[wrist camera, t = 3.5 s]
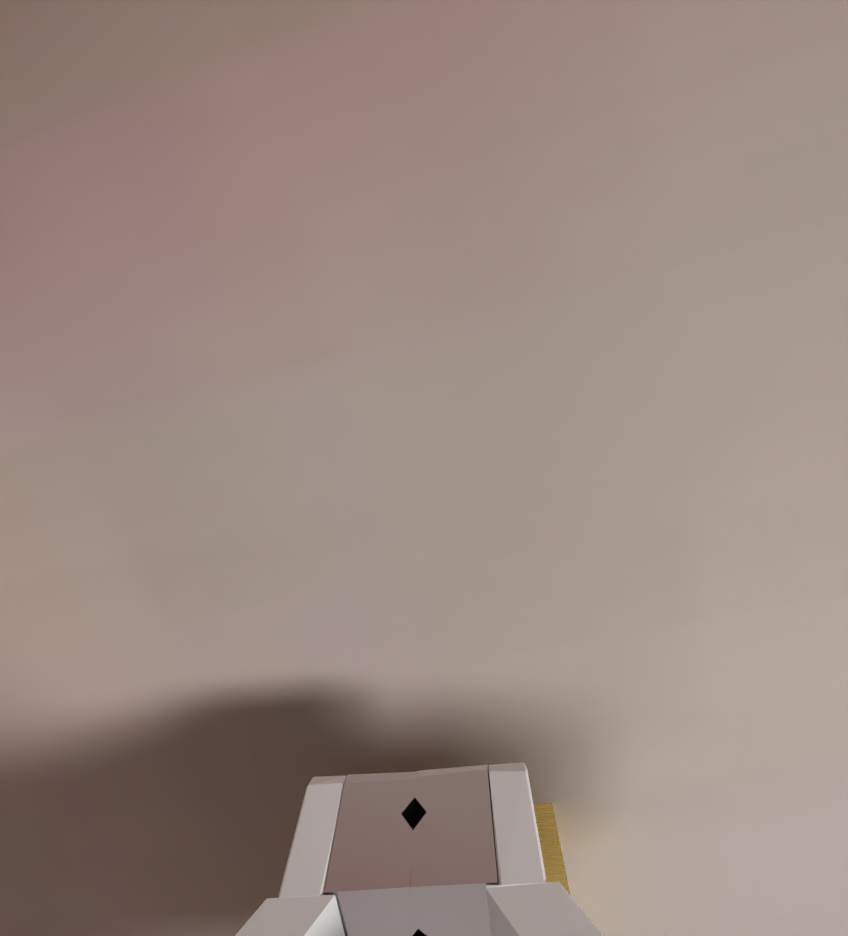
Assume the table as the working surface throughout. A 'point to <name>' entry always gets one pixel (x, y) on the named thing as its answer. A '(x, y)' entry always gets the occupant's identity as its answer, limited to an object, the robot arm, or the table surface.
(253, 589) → the table surface
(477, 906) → the robot arm
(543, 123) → the table surface
